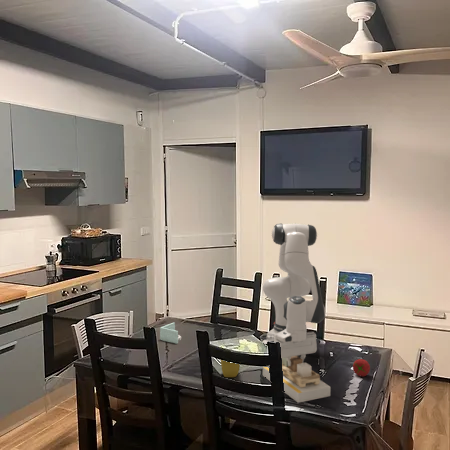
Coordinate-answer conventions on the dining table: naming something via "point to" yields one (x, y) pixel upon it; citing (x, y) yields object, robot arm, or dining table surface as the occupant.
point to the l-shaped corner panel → (169, 333)
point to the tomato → (361, 367)
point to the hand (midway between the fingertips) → (295, 364)
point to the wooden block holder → (293, 376)
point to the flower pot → (229, 369)
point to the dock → (302, 389)
